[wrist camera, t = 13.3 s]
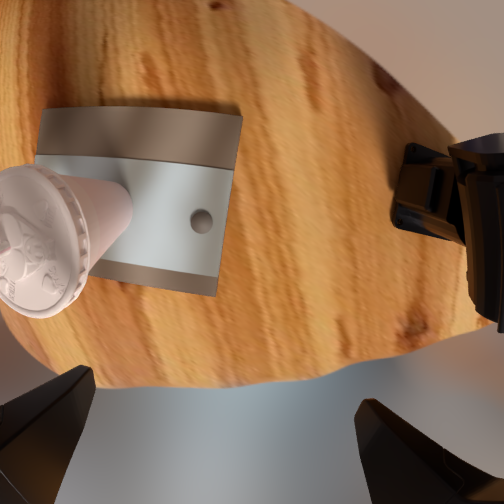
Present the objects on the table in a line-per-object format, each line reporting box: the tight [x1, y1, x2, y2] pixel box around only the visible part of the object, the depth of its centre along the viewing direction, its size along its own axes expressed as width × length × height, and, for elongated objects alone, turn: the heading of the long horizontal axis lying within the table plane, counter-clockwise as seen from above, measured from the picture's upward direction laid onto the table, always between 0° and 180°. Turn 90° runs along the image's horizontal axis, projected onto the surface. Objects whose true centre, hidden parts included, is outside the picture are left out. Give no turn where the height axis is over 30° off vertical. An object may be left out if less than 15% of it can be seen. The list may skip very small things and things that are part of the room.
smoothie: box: [0, 164, 133, 318], centre depth 12 cm, size 6×6×14 cm
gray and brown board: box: [35, 106, 243, 297], centre depth 18 cm, size 15×12×1 cm
